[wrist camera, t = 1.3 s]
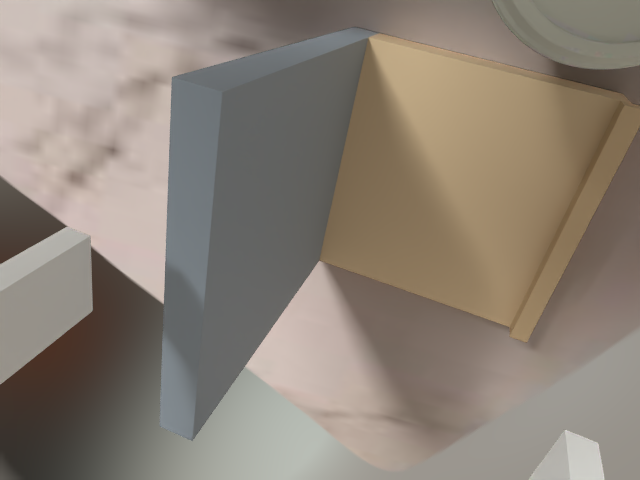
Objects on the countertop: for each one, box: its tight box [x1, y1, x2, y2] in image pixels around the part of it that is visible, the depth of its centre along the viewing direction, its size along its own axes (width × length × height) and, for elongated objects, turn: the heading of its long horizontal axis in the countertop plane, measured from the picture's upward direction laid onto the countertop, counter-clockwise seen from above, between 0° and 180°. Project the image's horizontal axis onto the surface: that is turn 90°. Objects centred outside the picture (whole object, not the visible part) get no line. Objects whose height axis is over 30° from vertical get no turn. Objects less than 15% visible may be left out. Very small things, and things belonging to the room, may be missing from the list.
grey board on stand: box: [160, 27, 640, 441], centre depth 23 cm, size 14×15×18 cm
